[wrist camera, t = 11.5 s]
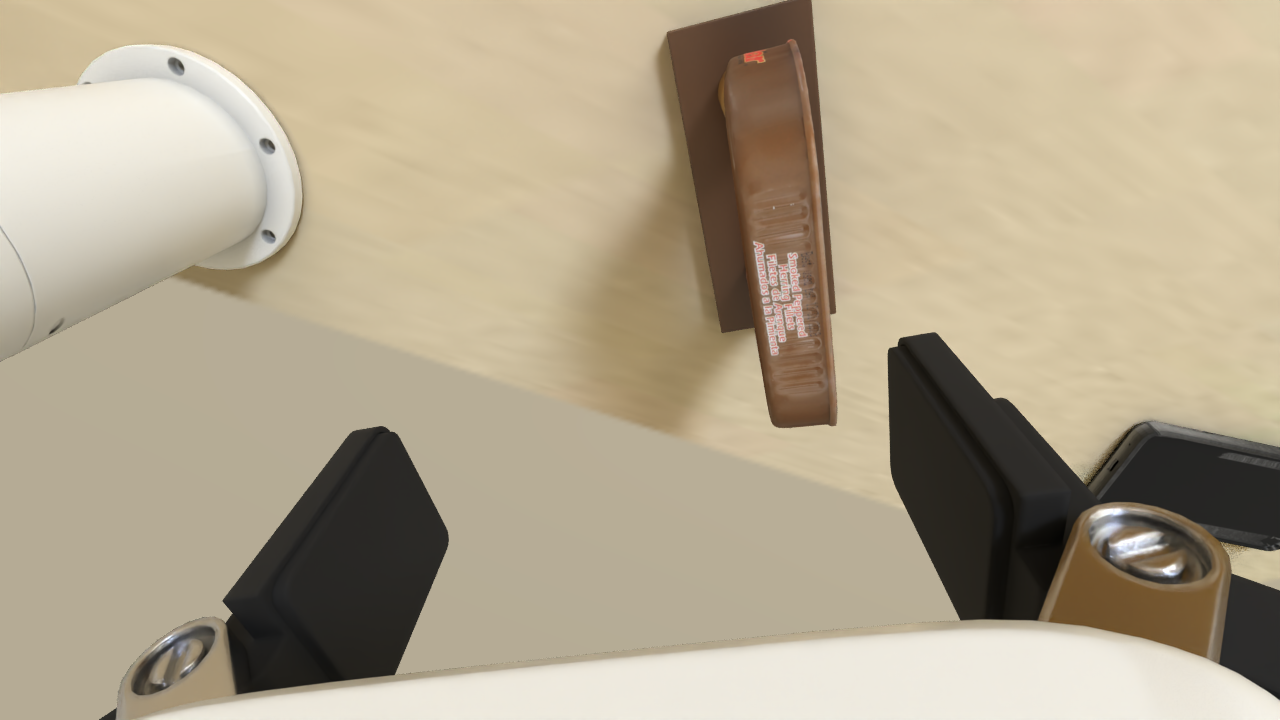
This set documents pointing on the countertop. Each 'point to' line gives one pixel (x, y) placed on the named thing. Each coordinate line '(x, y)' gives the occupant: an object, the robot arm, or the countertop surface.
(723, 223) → the rod stand
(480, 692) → the robot arm
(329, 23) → the countertop surface
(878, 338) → the countertop surface
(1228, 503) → the phone
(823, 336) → the tin
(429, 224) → the countertop surface
